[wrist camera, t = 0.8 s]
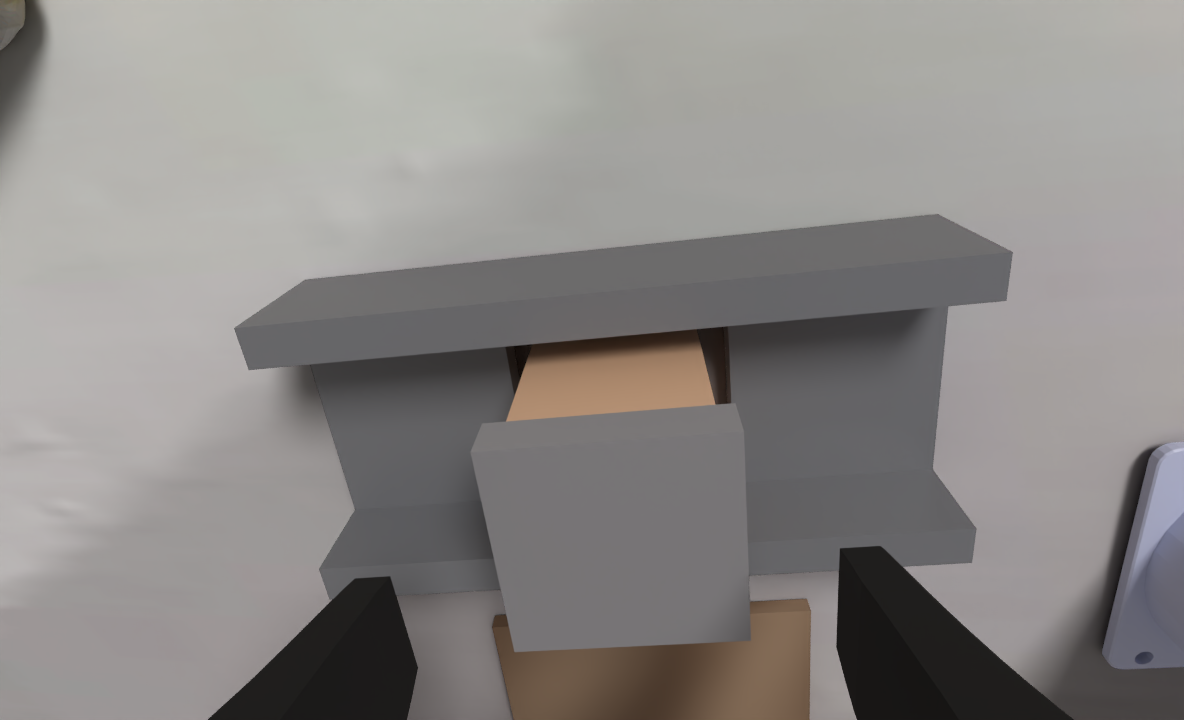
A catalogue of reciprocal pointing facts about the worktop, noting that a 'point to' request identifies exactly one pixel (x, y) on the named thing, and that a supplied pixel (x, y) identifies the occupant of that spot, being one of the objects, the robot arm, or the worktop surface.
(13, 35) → the pastry
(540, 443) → the plug
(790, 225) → the worktop surface
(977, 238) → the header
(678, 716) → the walnut pad
